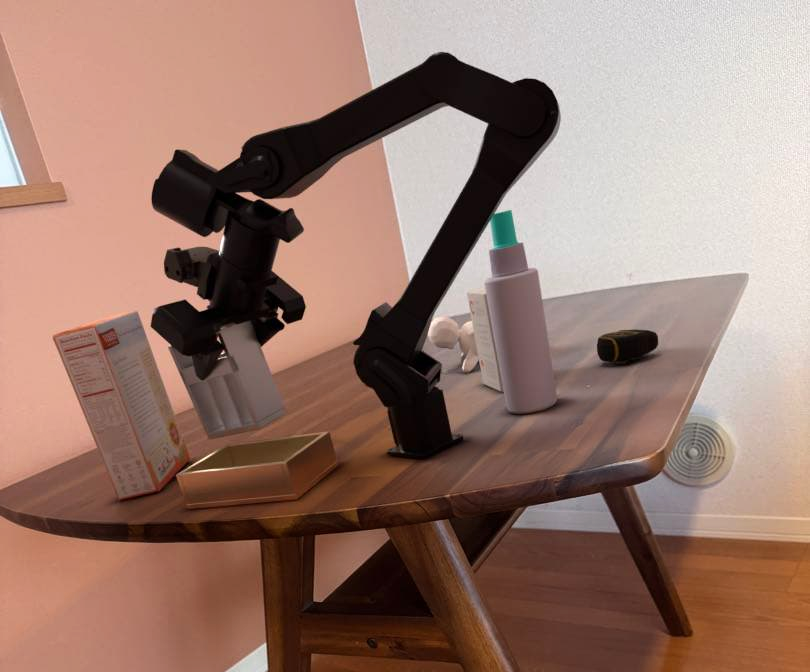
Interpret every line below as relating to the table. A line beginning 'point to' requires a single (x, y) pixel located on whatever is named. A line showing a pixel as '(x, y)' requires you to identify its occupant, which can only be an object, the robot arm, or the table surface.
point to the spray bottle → (518, 322)
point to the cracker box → (124, 402)
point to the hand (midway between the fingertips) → (218, 371)
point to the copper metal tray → (258, 471)
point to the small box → (484, 338)
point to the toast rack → (233, 385)
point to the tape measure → (626, 345)
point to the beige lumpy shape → (455, 339)
